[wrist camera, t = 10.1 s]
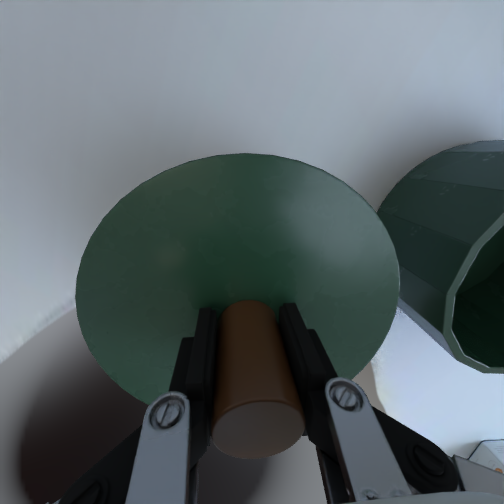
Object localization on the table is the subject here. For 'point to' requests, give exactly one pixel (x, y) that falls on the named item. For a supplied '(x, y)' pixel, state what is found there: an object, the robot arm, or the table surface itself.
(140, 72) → the table surface
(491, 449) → the small box
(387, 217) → the tin
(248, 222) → the tin lid
